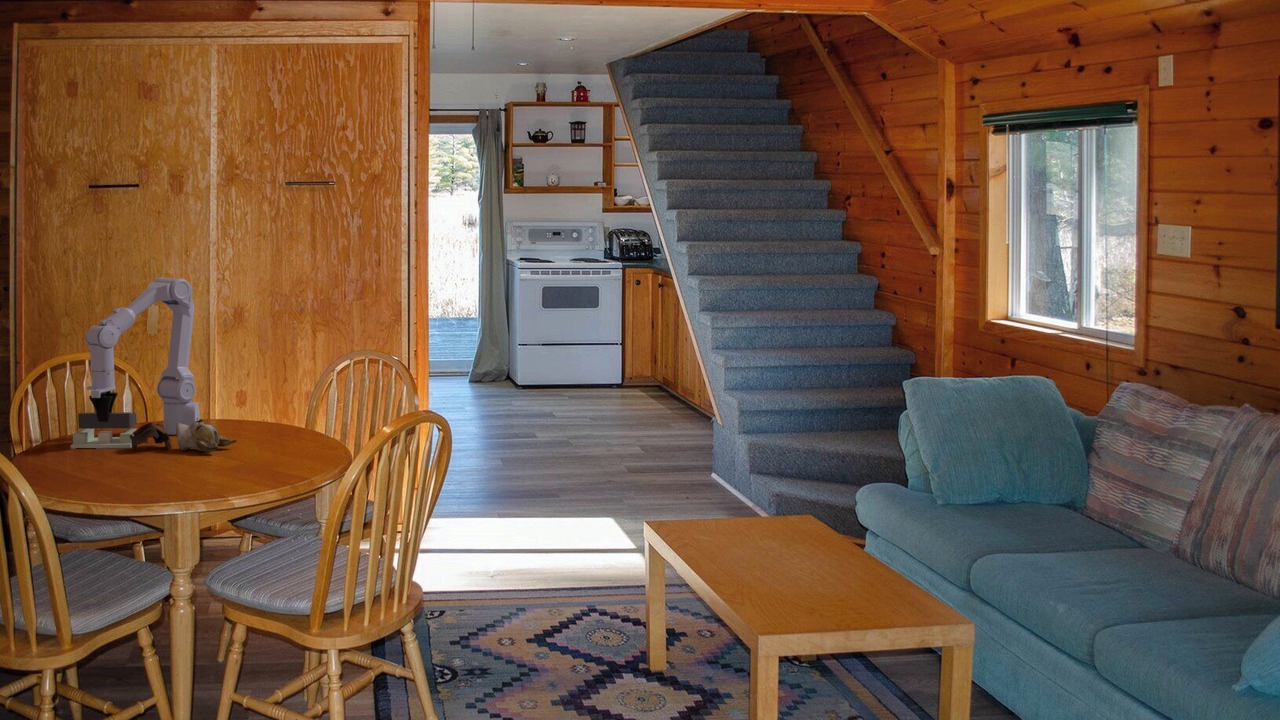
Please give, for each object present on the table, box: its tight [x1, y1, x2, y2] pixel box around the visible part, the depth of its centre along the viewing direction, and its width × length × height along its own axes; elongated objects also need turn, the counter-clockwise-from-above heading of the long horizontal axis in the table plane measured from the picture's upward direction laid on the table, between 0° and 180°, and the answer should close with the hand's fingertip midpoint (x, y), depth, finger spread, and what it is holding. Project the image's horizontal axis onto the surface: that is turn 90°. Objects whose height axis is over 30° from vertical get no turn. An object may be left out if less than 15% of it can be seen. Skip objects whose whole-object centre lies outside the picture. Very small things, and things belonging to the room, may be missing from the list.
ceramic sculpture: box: [176, 419, 238, 453], centre depth 325 cm, size 11×9×15 cm
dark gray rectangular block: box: [77, 411, 137, 430], centre depth 332 cm, size 13×7×4 cm, turn 98°
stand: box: [70, 428, 138, 450], centre depth 332 cm, size 15×11×4 cm
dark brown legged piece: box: [130, 421, 173, 451], centre depth 327 cm, size 12×10×8 cm
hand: (104, 420), depth 330 cm, fingers closed on dark gray rectangular block, 2 cm apart
